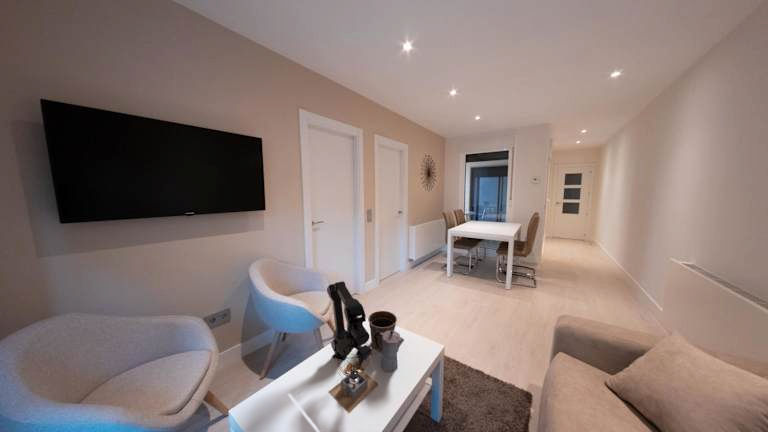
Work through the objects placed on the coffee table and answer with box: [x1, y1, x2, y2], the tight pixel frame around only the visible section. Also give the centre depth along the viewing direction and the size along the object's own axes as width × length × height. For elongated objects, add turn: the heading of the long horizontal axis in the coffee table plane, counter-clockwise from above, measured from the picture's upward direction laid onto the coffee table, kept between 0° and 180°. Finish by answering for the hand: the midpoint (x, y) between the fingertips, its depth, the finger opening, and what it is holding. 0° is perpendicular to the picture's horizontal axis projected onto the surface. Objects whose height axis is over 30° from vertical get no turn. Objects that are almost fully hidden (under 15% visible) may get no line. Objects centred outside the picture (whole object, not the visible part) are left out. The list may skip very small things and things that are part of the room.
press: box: [340, 372, 368, 400], centre depth 103 cm, size 8×10×4 cm
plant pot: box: [367, 310, 398, 353], centre depth 132 cm, size 16×16×16 cm
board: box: [328, 370, 380, 414], centre depth 104 cm, size 14×18×1 cm
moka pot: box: [374, 330, 405, 373], centre depth 116 cm, size 10×15×20 cm, turn 78°
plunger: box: [347, 369, 361, 390], centre depth 104 cm, size 6×6×7 cm
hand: (353, 360), depth 106 cm, fingers open, 9 cm apart
